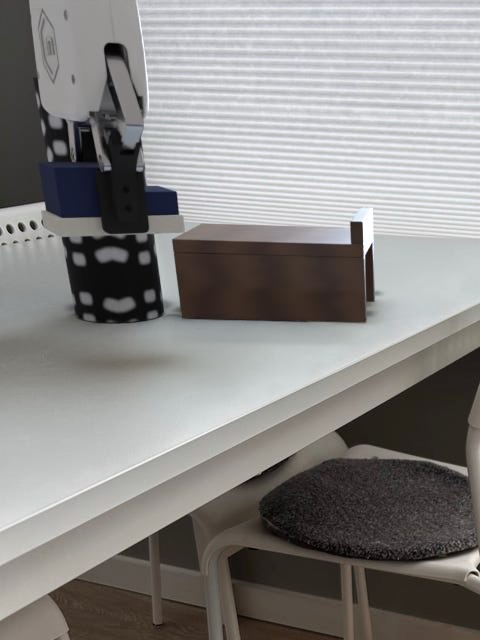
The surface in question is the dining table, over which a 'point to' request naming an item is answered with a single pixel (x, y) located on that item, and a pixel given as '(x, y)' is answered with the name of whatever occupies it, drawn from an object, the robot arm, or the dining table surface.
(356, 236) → the wooden storage chest
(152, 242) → the spotted tube
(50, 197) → the trainer
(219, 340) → the dining table surface
